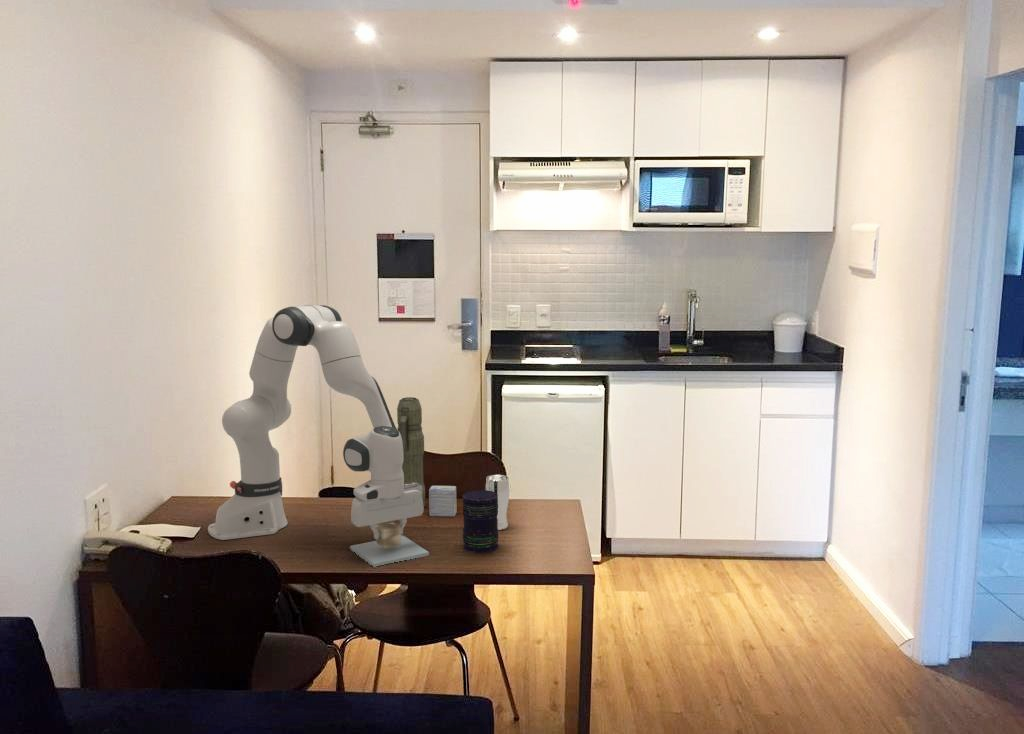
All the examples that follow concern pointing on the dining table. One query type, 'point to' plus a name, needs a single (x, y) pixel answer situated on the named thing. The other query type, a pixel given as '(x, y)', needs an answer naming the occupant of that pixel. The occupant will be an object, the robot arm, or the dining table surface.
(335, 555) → the dining table surface
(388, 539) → the birch cube
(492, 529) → the storage jar
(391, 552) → the mat
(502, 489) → the beer glass
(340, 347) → the robot arm
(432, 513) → the medicine box
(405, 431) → the thermos
